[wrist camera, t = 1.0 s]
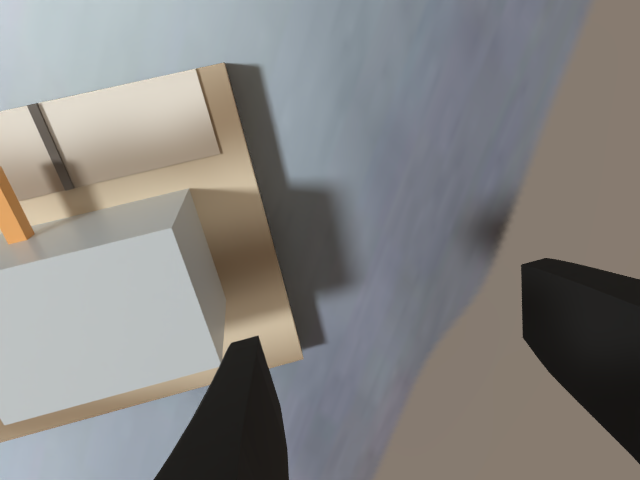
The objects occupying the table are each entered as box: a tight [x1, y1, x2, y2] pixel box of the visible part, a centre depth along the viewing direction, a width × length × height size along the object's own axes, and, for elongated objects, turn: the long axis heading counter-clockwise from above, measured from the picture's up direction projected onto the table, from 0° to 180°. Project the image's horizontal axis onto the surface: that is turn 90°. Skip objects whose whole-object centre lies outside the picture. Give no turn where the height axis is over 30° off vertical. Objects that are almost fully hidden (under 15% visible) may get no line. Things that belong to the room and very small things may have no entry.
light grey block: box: [0, 166, 226, 425], centre depth 15 cm, size 7×11×4 cm
